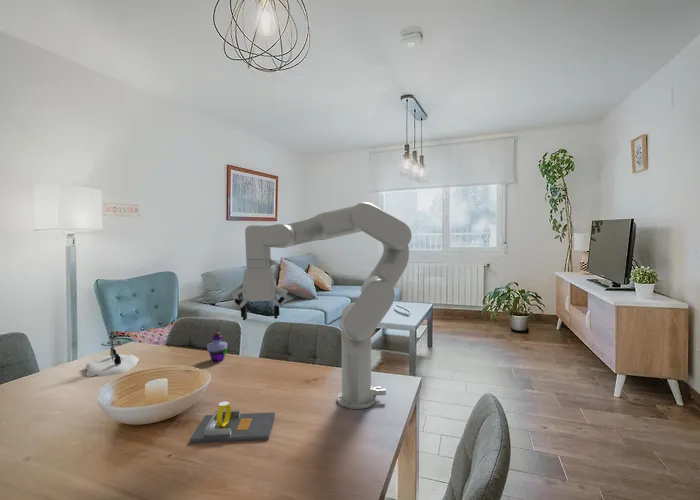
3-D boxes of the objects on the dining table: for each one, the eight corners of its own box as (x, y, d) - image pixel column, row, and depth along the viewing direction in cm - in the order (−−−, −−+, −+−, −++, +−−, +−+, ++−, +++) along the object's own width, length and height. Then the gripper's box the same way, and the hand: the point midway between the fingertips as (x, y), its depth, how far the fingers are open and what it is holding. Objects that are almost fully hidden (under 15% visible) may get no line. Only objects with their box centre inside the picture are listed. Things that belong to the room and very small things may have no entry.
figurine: (91, 360, 150) (89, 323, 148) (140, 355, 157) (140, 319, 155) (78, 382, 132) (76, 341, 130) (134, 375, 139) (133, 335, 137)
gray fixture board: (274, 416, 104) (274, 407, 104) (268, 439, 92) (268, 429, 92) (205, 419, 103) (205, 410, 103) (190, 443, 91) (189, 433, 91)
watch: (224, 431, 94) (223, 409, 94) (214, 430, 94) (213, 408, 94) (233, 419, 100) (233, 398, 100) (223, 419, 100) (223, 398, 100)
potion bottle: (226, 362, 149) (226, 334, 148) (205, 364, 147) (204, 336, 147) (229, 355, 157) (228, 329, 157) (208, 357, 156) (208, 330, 155)
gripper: (287, 262, 115) (289, 314, 116) (233, 264, 114) (235, 317, 114) (285, 264, 108) (287, 320, 109) (227, 266, 106) (229, 322, 107)
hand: (260, 318), depth 111 cm, fingers open, 9 cm apart
